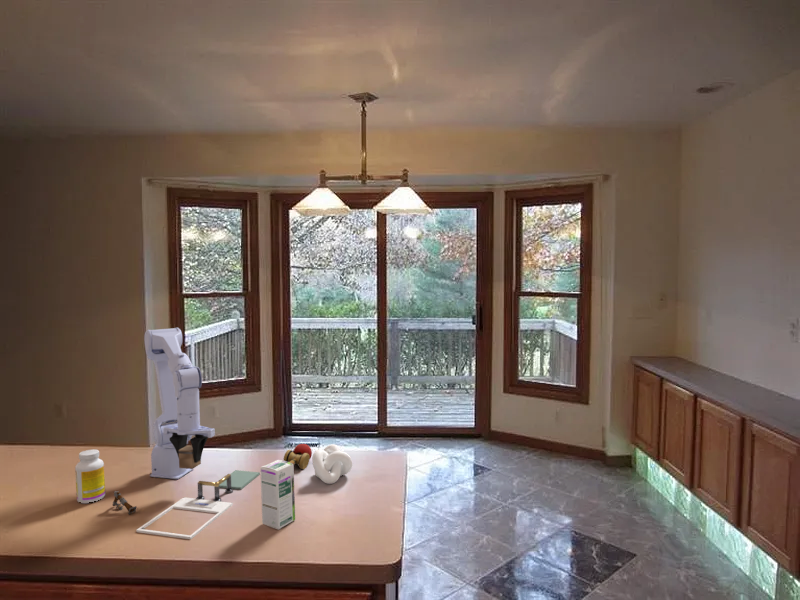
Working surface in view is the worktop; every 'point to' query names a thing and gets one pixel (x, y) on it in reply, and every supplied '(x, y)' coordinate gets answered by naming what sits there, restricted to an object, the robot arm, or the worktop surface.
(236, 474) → the mat
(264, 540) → the worktop surface
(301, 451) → the kendama
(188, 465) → the walnut block
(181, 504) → the white flat frame
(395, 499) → the worktop surface
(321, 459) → the white knot sculpture
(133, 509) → the wooden post with brackets
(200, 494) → the brass corner rail
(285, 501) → the syrup box
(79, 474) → the supplement bottle
